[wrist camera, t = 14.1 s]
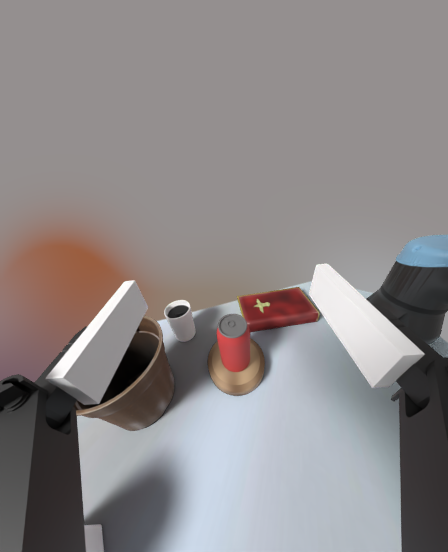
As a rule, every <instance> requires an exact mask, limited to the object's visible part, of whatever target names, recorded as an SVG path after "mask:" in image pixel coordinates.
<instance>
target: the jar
mask: <svg viewBox="0 0 448 552" xmlns="http://www.w3.org/2000/svg"><path fill="white" fill-rule="evenodd" d="M84 529H85V544H86V552H104V546H103V535H102V526H101V524H98V525H84Z"/></svg>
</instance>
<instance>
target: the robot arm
mask: <svg viewBox="0 0 448 552" xmlns="http://www.w3.org/2000/svg"><path fill="white" fill-rule="evenodd" d="M309 295H310V297H311V298H312V300H313V301H314V303H315V304H316V306H317V307H318V309H319V310H320V312H321V313H322V315H323V316H324V317H325V319H326V320H327V322H328V323H329V325H330V326H331V328H332V329H333V331H334V332H335V334H336V335H337V337H338V338H339V340H340V341H341V343H342V344H343V346H344V347H345V349H346V350H347V351H348V353H349V354H350V356H351V357H352V359H353V360H354V362H355V363H356V365H357V366H358V368H359V369H360V371H361V372H362V374H363V375H364V377H365V378H366V380H367V381H368V383H369V384H370V385H371V387H372V388H384V387H390V386H391V385H392V384H393V383H394V382H396V381H397V383H398V384H399V385H400V386H401V387H402V388H401V389H400V390H399V391H397V392H396V393H395V394H394V395H393V396H392V398H391V400H392V401H395V400H397V399H398V398H399V416H400V476H401V536H402V552H448V358H443V357H442V356H441V355H439V354H438V353H437V352H436V351H435V350H433V349H432V348H431V347H430V346H429V345H428V344H430V343H432V342H434V341H435V340H436V339H437V338H438V337H439V336H440V334H441V331H442V330H441V329H442V325H443V321H444V316H445V313H446V312H447V311H448V235H432V236H424V237H420V238H416V239H414V240H412V241H410V242H408V243H407V244H406V245H405V247H404V248H403V250H402V251H401V253H400V254H399V255H398V256H397V257H396V262H395V264H394V265H393V267H392V269H391V271H390V272H389V274H388V276H387V277H386V279H385V281H384V282H383V284H382V286H381V288H380V289H379V290H377V291H376V292H375V293H373V294H372V295H371V296H369V297H368V298H367V299H365V298H364V297H363V296H362V295H361V294H360V293H359V292H358V291H357V290H356V289H354V288H353V287H352V286H351V285H350V284H349V283H348V282H347V281H346V280H345V279H344V278H343V277H342V276H340V275H339V274H338V273H337V272H336V271H335V270H334V269H333V268H332V267H331V266H330V265H329V264H317V265H316V268H315V272H314V276H313V280H312V284H311V288H310V292H309ZM147 308H148V306H147V304H146V302H145V300H144V298H143V296H142V294H141V292H140V290H139V288H138V286H137V284H136V282H135V281H125V282H124V283H123V284H122V285H121V287H120V288H119V289H118V290H117V291H116V293H115V294H114V295H113V296H112V298H111V299H110V300H109V301H108V303H107V304H106V305H105V306H104V307H103V309H102V310H101V311H100V312H99V313H98V315H97V316H96V317H95V318H94V320H93V321H92V322H91V323H90V325H89V326H88V327H85V328H83V329H82V330H81V331H79V332H78V333H77V334H76V335H75V336H74V337H73V338H72V339H71V341H70V342H69V344H68V345H66V346H65V348H64V349H63V351H62V352H60V353H59V355H58V356H57V357H56V358H55V359H54V360H53V362H52V363H51V364H50V365H49V366H48V367H47V369H46V370H45V371H44V372H43V373H42V375H41V376H40V377H39V378H38V379H37V381H35V382H32V381H30V380H29V379H27V378H25V377H23V376H21V375H19V374H18V375H13V376H10V377H8V378H5V379H3V380H1V381H0V552H86V544H85V529H84V515H83V501H82V487H81V472H80V458H79V444H78V429H77V415H76V409H75V407H73V406H74V404H75V403H76V401H77V400H78V401H79V402H81V403H82V404H84V405H89V404H99V403H100V401H101V399H102V397H103V395H104V393H105V391H106V389H107V387H108V385H109V383H110V381H111V380H112V378H113V376H114V374H115V372H116V370H117V368H118V366H119V364H120V362H121V360H122V358H123V356H124V354H125V352H126V350H127V348H128V346H129V344H130V342H131V340H132V338H133V336H134V334H135V332H136V330H137V328H138V326H139V324H140V322H141V320H142V318H143V316H144V314H145V313H146V310H147Z"/></svg>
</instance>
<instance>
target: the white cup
mask: <svg viewBox="0 0 448 552" xmlns="http://www.w3.org/2000/svg"><path fill="white" fill-rule="evenodd" d="M164 314H165V316H166V319H167V321H168V323H169V324H170V326H171V328H172V330H173V332H174V334H175V336H176V338H177V339H178V340H179V341H181V342H186V341H189V340H191V339H192V338H193V337H194V335H195V332H196V330H195V325H194V321H193V317H192V312H191V308H190V304H189V303H188V302H187V301H184V300H177V301H174V302H172V303H170V304H169V305H168V306H167V307H166V308H165V311H164Z"/></svg>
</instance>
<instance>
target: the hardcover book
mask: <svg viewBox="0 0 448 552" xmlns="http://www.w3.org/2000/svg"><path fill="white" fill-rule="evenodd" d="M237 299H238V302H239V307H240V310H241V314H242V317H243V318H244V319H245V320H246V322H247V325H248V327H249V329H250V332H255V331H261V330H267V329H274V328H280V327H286V326H292V325H298V324H305V323H311V322H317V321H318V319H319V316H320V312H319V311H318V310H317V308H316V307H315V306H314V305H313V304H312V302H311V301H310V300H309V299H308V297H307V296H306V295H305V294H304V293H303V291H302V290H301V289H300V288H299V287H295V288H289V289H282V290H276V291H270V292H263V293H256V294H250V295H243V296H237Z"/></svg>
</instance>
